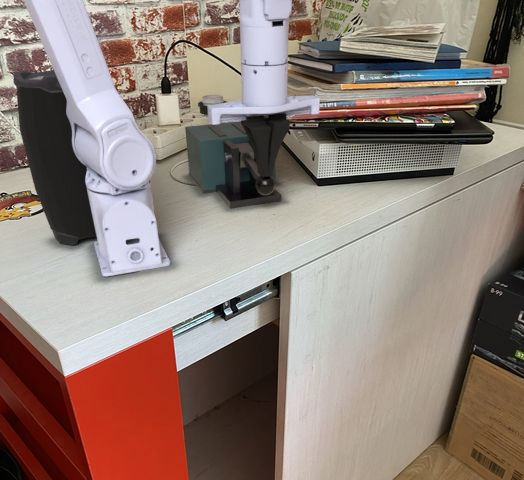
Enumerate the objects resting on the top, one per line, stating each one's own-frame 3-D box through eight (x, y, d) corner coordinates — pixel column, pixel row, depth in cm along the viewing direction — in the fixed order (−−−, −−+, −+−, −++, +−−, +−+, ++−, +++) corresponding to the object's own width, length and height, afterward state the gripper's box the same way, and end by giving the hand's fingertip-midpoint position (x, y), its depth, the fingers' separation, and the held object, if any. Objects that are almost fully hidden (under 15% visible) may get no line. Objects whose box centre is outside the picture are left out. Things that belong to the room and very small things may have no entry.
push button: (210, 148, 104) (207, 91, 98) (236, 150, 102) (234, 93, 96) (197, 158, 99) (192, 99, 93) (224, 160, 97) (221, 101, 91)
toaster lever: (277, 197, 74) (279, 178, 72) (258, 200, 74) (259, 181, 72) (249, 158, 82) (250, 141, 80) (232, 161, 81) (232, 143, 79)
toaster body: (276, 184, 87) (276, 132, 82) (203, 194, 83) (199, 140, 79) (256, 167, 94) (256, 118, 89) (188, 176, 90) (184, 125, 86)
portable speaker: (35, 242, 70) (-12, 75, 58) (82, 217, 77) (48, 63, 65) (88, 253, 67) (49, 79, 56) (132, 225, 74) (105, 66, 63)
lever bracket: (281, 202, 81) (281, 148, 76) (230, 209, 78) (228, 155, 74) (258, 181, 88) (257, 131, 84) (211, 187, 86) (208, 137, 81)
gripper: (305, 54, 70) (302, 159, 78) (197, 61, 66) (206, 172, 74) (329, 62, 65) (323, 174, 73) (213, 70, 61) (220, 188, 69)
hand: (265, 174), depth 73 cm, fingers closed, pressing on toaster lever
